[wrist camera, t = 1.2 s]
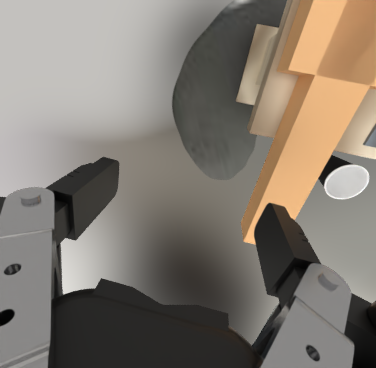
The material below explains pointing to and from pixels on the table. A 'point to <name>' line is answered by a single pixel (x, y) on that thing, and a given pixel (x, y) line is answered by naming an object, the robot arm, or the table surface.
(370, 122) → the birch shelf stand
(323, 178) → the dixie cup
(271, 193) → the orange T-bar
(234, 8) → the table surface
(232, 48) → the table surface
